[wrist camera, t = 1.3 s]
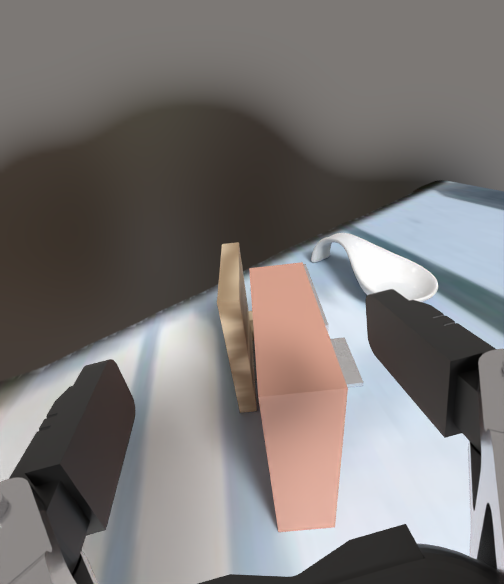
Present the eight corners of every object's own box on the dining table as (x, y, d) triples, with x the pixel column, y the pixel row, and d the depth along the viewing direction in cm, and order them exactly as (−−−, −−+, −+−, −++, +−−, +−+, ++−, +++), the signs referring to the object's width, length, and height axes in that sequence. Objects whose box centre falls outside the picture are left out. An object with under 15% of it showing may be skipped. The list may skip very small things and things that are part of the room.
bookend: (318, 404, 37) (319, 325, 30) (301, 335, 47) (299, 264, 40) (368, 399, 37) (381, 319, 30) (340, 331, 47) (345, 259, 40)
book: (278, 532, 27) (258, 397, 17) (265, 396, 39) (249, 268, 29) (334, 527, 27) (347, 387, 17) (305, 392, 39) (302, 262, 29)
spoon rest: (448, 298, 51) (460, 258, 47) (402, 329, 46) (410, 288, 42) (338, 250, 68) (339, 218, 64) (295, 270, 63) (294, 236, 59)
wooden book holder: (239, 412, 37) (216, 302, 28) (239, 333, 49) (222, 237, 40) (325, 404, 37) (329, 290, 28) (304, 326, 48) (302, 228, 40)
